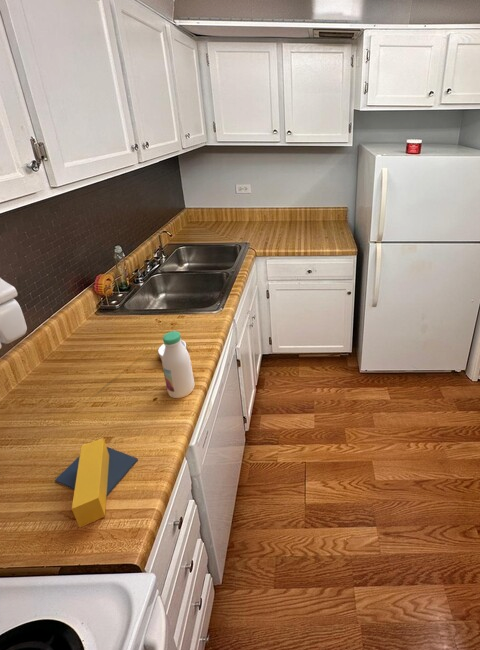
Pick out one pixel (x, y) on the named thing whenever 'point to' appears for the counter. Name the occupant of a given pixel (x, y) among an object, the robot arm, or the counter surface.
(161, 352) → the ramekin
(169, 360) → the milk bottle
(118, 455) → the mat
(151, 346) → the counter surface
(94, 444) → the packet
